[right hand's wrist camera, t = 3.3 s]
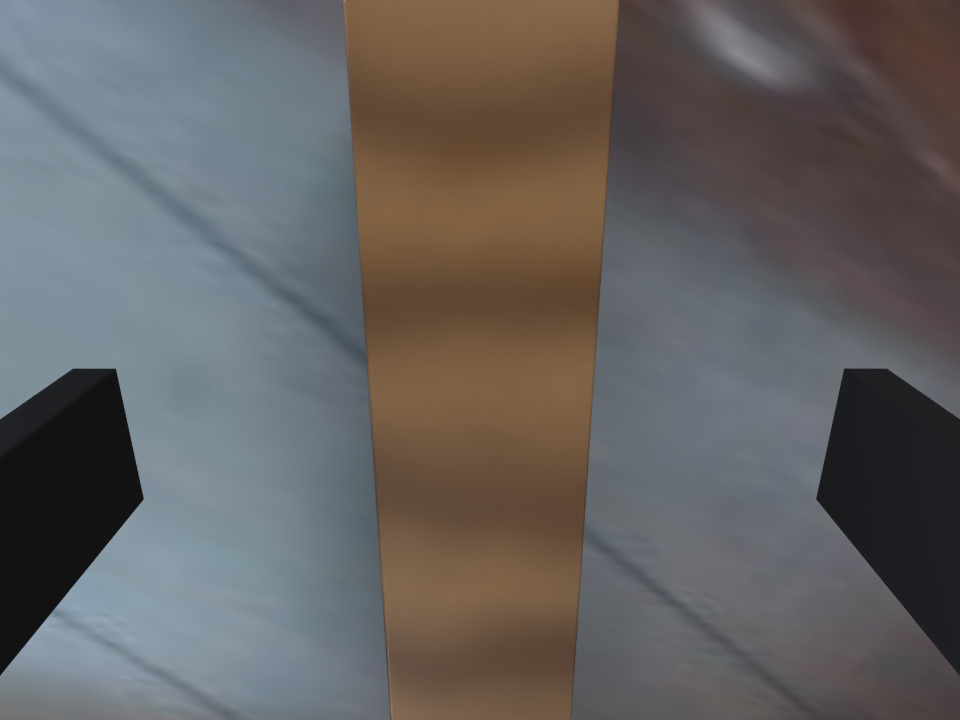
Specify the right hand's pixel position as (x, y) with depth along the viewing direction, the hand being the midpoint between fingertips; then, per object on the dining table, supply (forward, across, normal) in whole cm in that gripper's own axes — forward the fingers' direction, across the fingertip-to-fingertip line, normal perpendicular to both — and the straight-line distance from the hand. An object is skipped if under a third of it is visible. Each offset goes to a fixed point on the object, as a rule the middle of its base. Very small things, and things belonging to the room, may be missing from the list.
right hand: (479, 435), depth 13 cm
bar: (+12, 0, -30) cm, 33 cm away
